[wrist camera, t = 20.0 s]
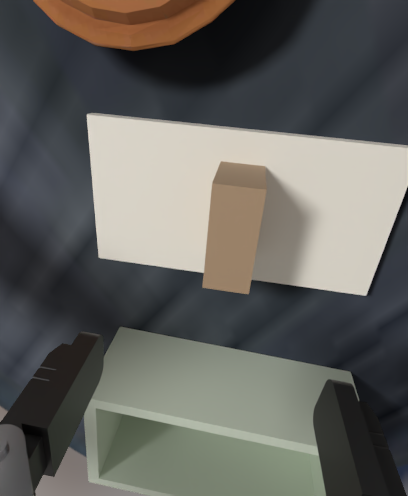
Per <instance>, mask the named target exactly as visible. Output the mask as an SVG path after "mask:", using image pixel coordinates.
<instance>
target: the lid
mask: <svg viewBox="0 0 408 496" xmlns="http://www.w3.org/2000/svg"><path fill="white" fill-rule="evenodd" d="M87 124H88V136H89V148H90V160H91V172H92V184H93V196H94V208H95V220H96V231H97V243H98V255H99V258H103V259H110V260H117V261H124V262H131V263H138V264H145V265H152V266H159V267H166V268H173V269H181V270H188V271H195V272H202V273H204V277H203V288H209V289H216V290H223V291H230V292H236V293H243V294H249V290H250V284H251V280H258V281H265V282H272V283H279V284H286V285H293V286H300V287H308V288H315V289H322V290H329V291H336V292H343V293H350V294H357V295H364V296H366V295H367V292H368V290H369V287H370V284H371V282H372V279H373V276H374V274H375V271H376V269H377V266H378V263H379V261H380V258H381V255H382V253H383V250H384V248H385V245H386V242H387V240H388V237H389V234H390V232H391V229H392V226H393V224H394V221H395V219H396V216H397V213H398V211H399V208H400V205H401V203H402V200H403V197H404V195H405V192H406V190H407V187H408V146H407V145H397V144H388V143H378V142H368V141H359V140H349V139H339V138H330V137H320V136H311V135H301V134H291V133H282V132H272V131H262V130H253V129H243V128H233V127H224V126H214V125H204V124H195V123H185V122H176V121H166V120H156V119H147V118H137V117H127V116H118V115H108V114H98V113H91V114H87Z"/></svg>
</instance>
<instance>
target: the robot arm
mask: <svg viewBox="0 0 408 496" xmlns="http://www.w3.org/2000/svg"><path fill="white" fill-rule="evenodd" d="M103 365H104V354H103V335H99V334H94V333H88V332H83V331H82V332H80V333H79V334H78V336H77V337H76V339H75V340H74V342H73V344H72V345H68V344H63V343H62V344H61V345H60V346H58V347H57V348H56V349H54V350H53V351H52V352H50V353H49V354H48V356H47V357H46V359H45V360H44V361H43V363H42V364H41V366H40V368H39V369H38V370H37V371H36V373H35V374H34V376H33V378H32V379H31V380H30V381H29V383H28V384H27V386H26V387H25V388H24V390H23V391H22V393H21V394H20V396H19V397H18V398H17V400H16V401H15V403H14V404H13V406H12V407H11V408H10V410H9V411H8V413H7V414H6V416H5V417H4V418H3V420H2V421H1V422H0V496H36V493H35V490H36V488H37V486H38V484H39V481H40V479H41V478H42V476H43V475H48V476H53V477H54V476H55V474H56V471H57V469H58V468H59V465H60V463H61V461H62V459H63V457H64V455H65V453H66V451H67V449H68V447H69V445H70V442H71V440H72V438H73V436H74V434H75V432H76V430H77V428H78V426H79V424H80V421H81V419H82V417H83V415H84V413H85V411H86V409H87V407H88V405H89V403H90V401H91V398H92V396H93V394H94V392H95V390H96V388H97V386H98V384H99V381H100V379H101V376H102V372H103ZM313 426H314V432H315V437H316V443H317V448H318V454H319V459H320V465H321V470H322V476H323V481H324V487H325V492H326V496H407V495H406V493H405V490H404V487H403V485H402V482H401V479H400V476H399V474H398V471H397V468H396V466H395V463H394V460H393V458H392V455H391V452H390V450H388V444H387V441H386V439H385V437H384V436H383V434H384V433H383V430H382V428H381V425H380V422H379V420H378V417H377V416H376V415H375V413H374V412H373V411H372V409H371V408H370V407H369V405H368V404H367V403H366V402H361V401H358V398H357V395H356V392H355V389H354V386H353V385H352V384H351V383H348V382H342V381H337V380H332V379H328V380H327V381H326V383H325V385H324V387H323V389H322V392H321V394H320V396H319V398H318V401H317V403H316V405H315V408H314V412H313Z"/></svg>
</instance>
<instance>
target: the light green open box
mask: <svg viewBox="0 0 408 496" xmlns="http://www.w3.org/2000/svg"><path fill="white" fill-rule="evenodd" d="M328 379H332V380H337V381H342V382H348V383H351V384H352V385H353V386H354V389H355V392H356V395H357V398H358V394H357V391H356V388H355V385H354V381H353V378H352V375H351V372H349V371H344V370H339V369H334V368H329V367H324V366H319V365H313V364H308V363H303V362H298V361H293V360H288V359H283V358H278V357H273V356H268V355H263V354H258V353H252V352H247V351H242V350H237V349H232V348H227V347H222V346H217V345H212V344H207V343H202V342H197V341H191V340H186V339H181V338H176V337H171V336H166V335H161V334H156V333H151V332H146V331H141V330H135V329H130V328H125V327H119V329H118V331H117V333H116V335H115V337H114V339H113V341H112V343H111V344H110V346H109V348H108V350H107V352H106V354H105V356H104V365H103V372H102V376H101V379H100V381H99V384H98V386H97V388H96V390H95V392H94V394H93V396H92V398H91V401H90V403H89V405H88V407H87V409H86V411H85V413H84V424H85V438H86V452H87V465H88V479H89V482H91V483H96V484H100V485H104V486H109V487H113V488H118V489H122V490H127V491H131V492H135V493H140V494H144V495H149V496H326V492H325V487H324V481H323V476H322V470H321V465H320V459H319V454H318V448H317V443H316V437H315V432H314V426H313V412H314V408H315V405H316V403H317V401H318V398H319V396H320V394H321V392H322V389H323V387H324V385H325V383H326V381H327V380H328ZM358 401H359V398H358Z"/></svg>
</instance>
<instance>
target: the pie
mask: <svg viewBox="0 0 408 496" xmlns="http://www.w3.org/2000/svg"><path fill="white" fill-rule="evenodd" d="M33 1H34V2H35V3H36V4H37V5H38V6H39V7H40V8H41V9H42V10H43V11H44V12H45V13H46V14H47V15H48V16H49V17H50V18H51V19H52V20H53V21H54V22H55V23H56V24H57V25H58V26H60V27H62V28H64V29H66V30H67V31H69V32H71V33H73V34H75V35H77V36H79V37H80V38H82V39H84V40H86V41H88V42H90V43H92V44H94V45H95V46H102V47H109V48H116V49H124V50H131V51H136V50H142V49H149V48H155V47H161V46H167V45H173V44H176V43H178V42H179V41H181V40H183V39H184V38H186V37H188V36H189V35H191V34H192V33H194V32H196V31H197V30H199V29H201V28H202V27H204V26H206V25H207V24H209V23H211V22H212V21H213V20H214V19H216V18H217V17H218V16H219V15H220V14H221V13H222V12H223V11H224V10H225V9H226V8H228V7H229V6H230V5H231V4H232V3H233V2H234V1H235V0H33Z"/></svg>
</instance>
